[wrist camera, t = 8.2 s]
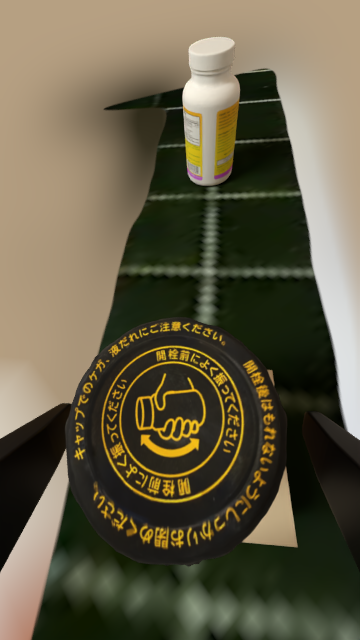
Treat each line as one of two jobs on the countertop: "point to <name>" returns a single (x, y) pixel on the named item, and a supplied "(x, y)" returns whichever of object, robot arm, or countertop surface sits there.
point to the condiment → (176, 442)
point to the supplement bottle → (210, 111)
